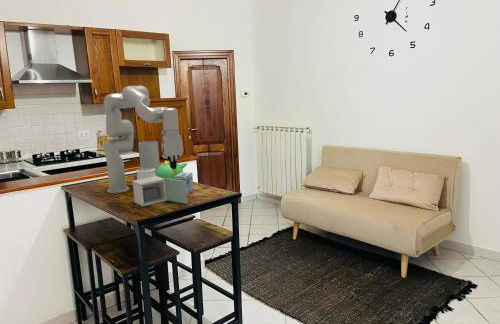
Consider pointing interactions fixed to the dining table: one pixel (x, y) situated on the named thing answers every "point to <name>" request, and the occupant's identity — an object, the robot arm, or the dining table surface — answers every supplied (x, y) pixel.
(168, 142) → the robot arm
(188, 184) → the light bulb box
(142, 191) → the housing
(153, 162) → the cylinder vase
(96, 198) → the dining table surface
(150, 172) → the jar
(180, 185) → the door
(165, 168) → the toy bird
